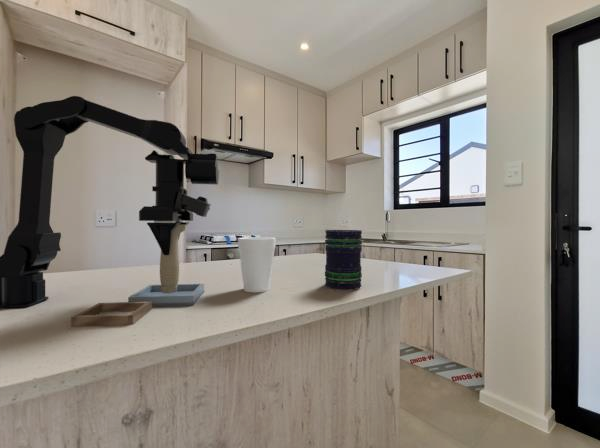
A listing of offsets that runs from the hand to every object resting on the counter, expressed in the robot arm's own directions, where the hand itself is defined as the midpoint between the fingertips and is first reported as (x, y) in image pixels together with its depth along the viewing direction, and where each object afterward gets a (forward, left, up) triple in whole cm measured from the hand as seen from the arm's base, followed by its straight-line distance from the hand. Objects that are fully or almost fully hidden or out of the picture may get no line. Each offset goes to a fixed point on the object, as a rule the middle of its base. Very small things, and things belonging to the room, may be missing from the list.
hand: (169, 253), depth 67 cm
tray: (0, 0, -10) cm, 10 cm away
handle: (0, 0, -9) cm, 9 cm away
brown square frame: (-6, -12, -10) cm, 17 cm away
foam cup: (+19, +7, -10) cm, 23 cm away
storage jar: (+42, +9, -10) cm, 44 cm away
